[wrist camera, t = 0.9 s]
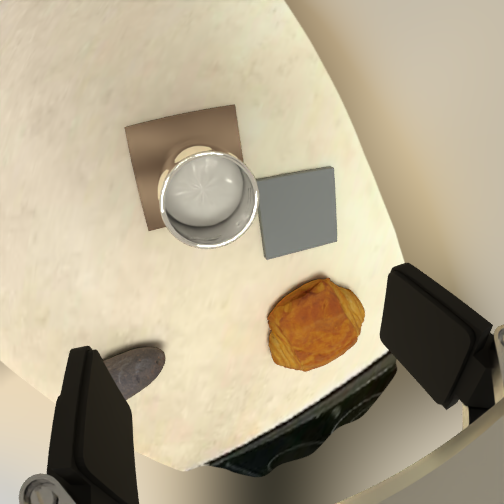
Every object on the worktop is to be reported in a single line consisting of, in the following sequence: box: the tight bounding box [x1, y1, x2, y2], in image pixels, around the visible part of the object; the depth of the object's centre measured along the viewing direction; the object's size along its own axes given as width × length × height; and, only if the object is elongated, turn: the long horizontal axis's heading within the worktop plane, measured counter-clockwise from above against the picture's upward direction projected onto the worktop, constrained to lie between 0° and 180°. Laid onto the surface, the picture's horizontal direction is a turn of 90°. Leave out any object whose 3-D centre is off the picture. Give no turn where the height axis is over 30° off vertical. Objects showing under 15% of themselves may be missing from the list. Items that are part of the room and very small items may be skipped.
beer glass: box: [157, 140, 259, 249], centre depth 27 cm, size 7×7×15 cm
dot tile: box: [125, 105, 243, 231], centre depth 34 cm, size 12×12×1 cm
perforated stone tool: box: [103, 347, 165, 400], centre depth 38 cm, size 15×5×7 cm, turn 111°
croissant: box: [267, 278, 365, 372], centre depth 45 cm, size 14×16×8 cm
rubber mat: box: [256, 167, 337, 260], centre depth 39 cm, size 10×10×1 cm
